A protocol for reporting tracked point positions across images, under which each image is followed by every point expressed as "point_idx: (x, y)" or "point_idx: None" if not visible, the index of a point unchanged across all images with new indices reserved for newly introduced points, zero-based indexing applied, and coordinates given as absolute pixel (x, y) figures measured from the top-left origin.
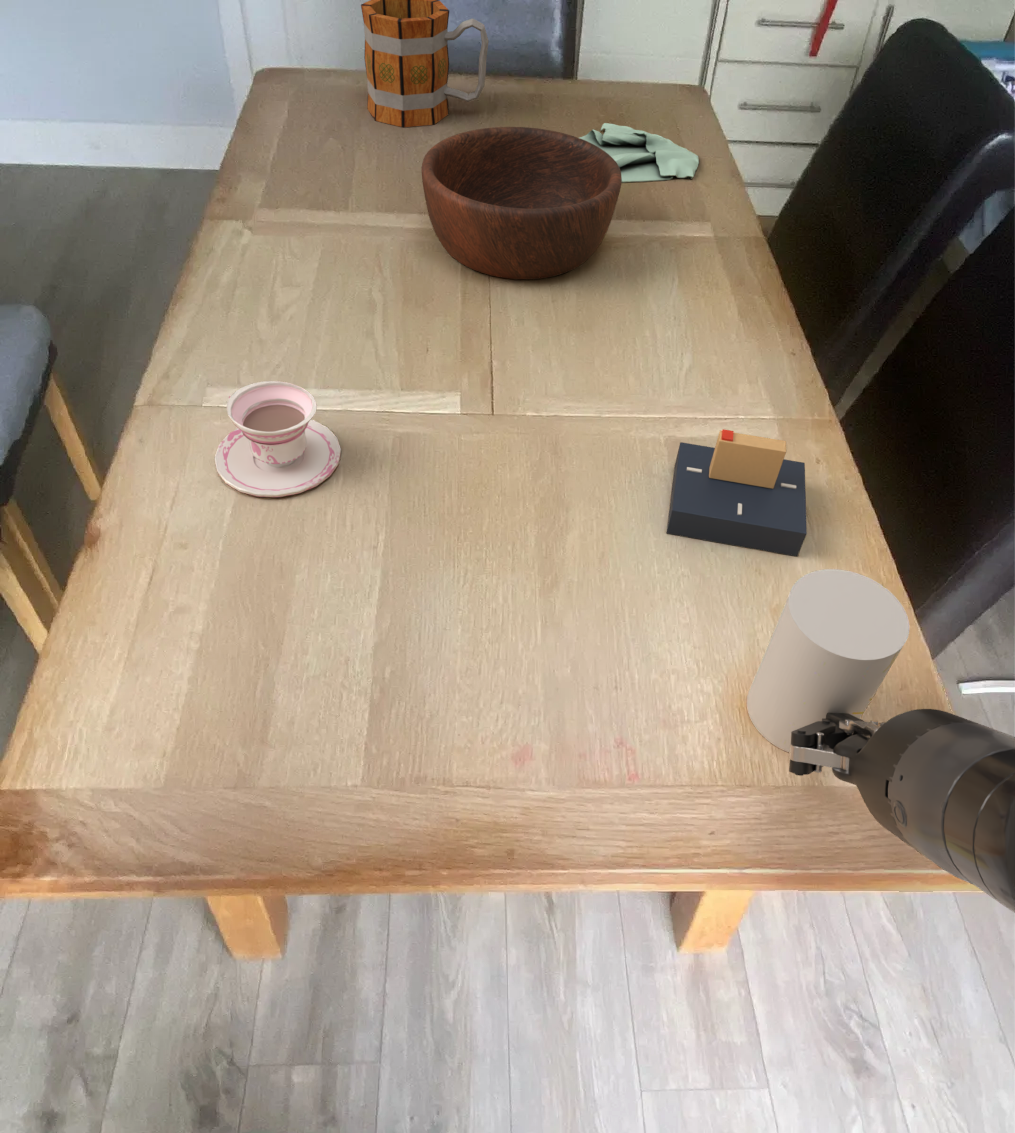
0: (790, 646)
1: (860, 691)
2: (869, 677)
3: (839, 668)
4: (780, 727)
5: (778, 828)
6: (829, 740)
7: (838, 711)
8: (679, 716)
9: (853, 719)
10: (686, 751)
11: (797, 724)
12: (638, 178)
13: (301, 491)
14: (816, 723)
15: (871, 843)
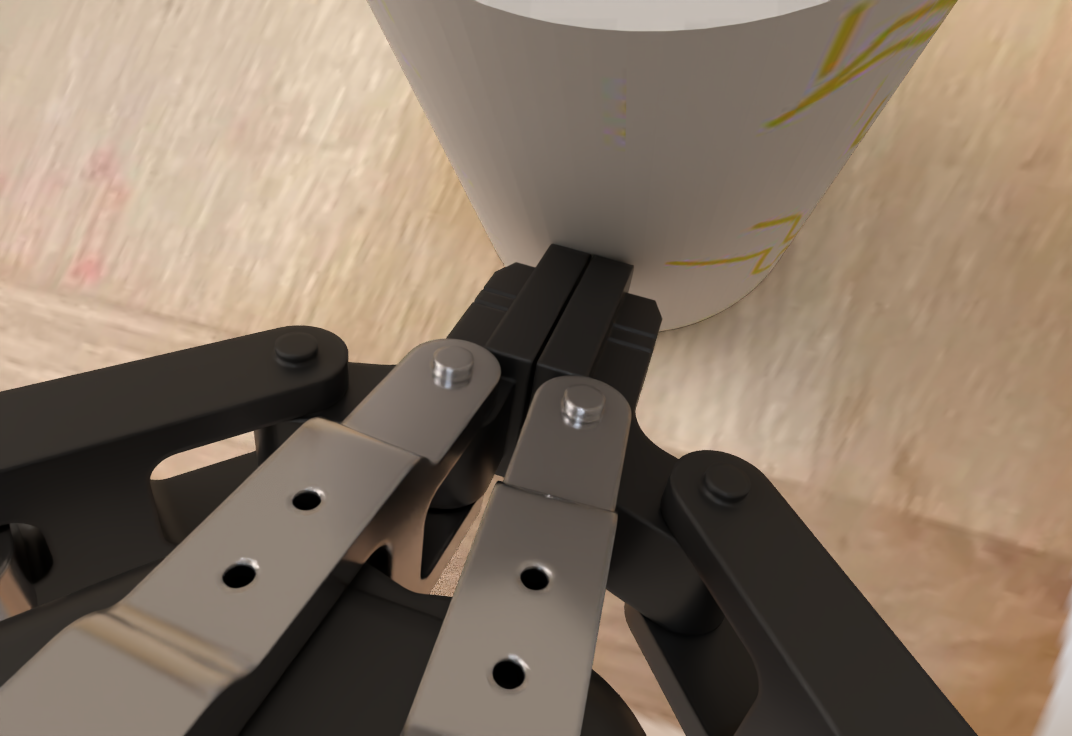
0: None
1: (649, 200)
2: (664, 145)
3: (453, 56)
4: (485, 229)
5: None
6: (277, 448)
7: (593, 249)
8: (289, 121)
9: (563, 326)
10: (255, 228)
11: (502, 241)
12: None
13: None
14: (221, 352)
15: (628, 640)
